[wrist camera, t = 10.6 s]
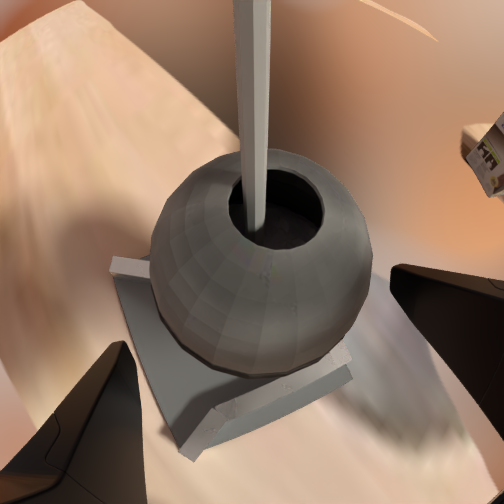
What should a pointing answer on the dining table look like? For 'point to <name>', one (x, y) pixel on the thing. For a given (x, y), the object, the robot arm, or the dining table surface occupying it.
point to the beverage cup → (259, 242)
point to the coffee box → (490, 159)
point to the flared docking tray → (246, 400)
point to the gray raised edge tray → (201, 375)
